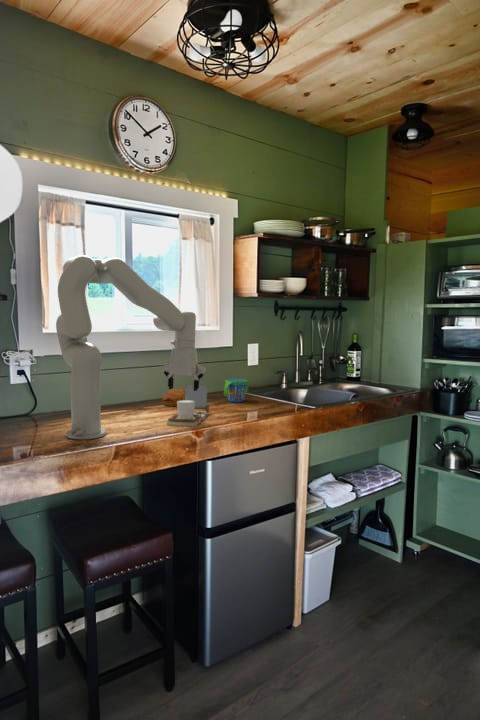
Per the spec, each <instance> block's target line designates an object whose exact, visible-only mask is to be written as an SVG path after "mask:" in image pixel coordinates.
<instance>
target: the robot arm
mask: <svg viewBox="0 0 480 720" xmlns="http://www.w3.org/2000/svg"><path fill="white" fill-rule="evenodd" d="M88 284H99V285H101V284H112V286H114V287H115V288H116V290H118V291H119V292H120V293H121V294H122V295H123V296H124V297H125V298H127V300H128V301H130V302H131V303H132V304H134V305H135V306H137V307H140V308H141V309H142V308H143V309H144V310H147V311H149V312H150V313H151V314H153V325H154V327H156V328H157V329H159V330H160V331H166V332H175V333H174V340H171V342H170V344H171V345H173V346H174V347H172V349H171V353H170V359H169V361H170V362H169V363H166V364H164V365H162V366H161V369H162V372H163V374H164V375H165V376H166V377H167V387H168V390H173V389H174V376H175V375H178V376H181V375H182V376H192V377H193V378H194V380H193V386H194V391H197V389H198V388H199V386H200V380H201V379H202V378H203V377H204V376H205V374H206V372H207V368H206V367H204V366H202V365H200V364H199V361H198V359H199V358H198V351H197V348H196V321H197V316H196V314H195V313H194V312H193V311H181V310H180V309H179V308H178V307H177V306H176V305H175V304H174V303H173V302H172V301H171V299H170V300H169V298H167V297H166V296H164V295H163V294H162V293H161V292H158V291H157V290H156V289H154V288H153V287H151V286H150V285H149V284H148V283H147V282H146V281H145V280H144V279H143V278H142V277H140V275H139V274H138V273H137V272H136V271H134V269H133V268H132V267H131V266H130V265H129V264H128V263H127V262H125V260H124V259H122V258H119V257H110V258H105V259H96V258H95V259H93V258H92V257H91V256H88V255H84V254H83V255H77V256H74V257H70V258H68V259H67V260H66V261H65V262H64V264H63V265H62V272H61V275H60V277H59V280H58V284H57V285H58V286H57V297H58V303H59V304H58V305H59V309H60V314H59V315H58V316H57V319H56V322H55V324H56V325H55V328H56V329H55V330H56V335H57V339H58V343H59V346H60V350H61V351H60V353H61V355H62V358H63V360H64V362H65V364H67V366H69V367H71V373H70V409H71V411H70V413H71V414H70V415H71V417H70V420H71V424H70V425H71V428H70V429H68V430H66V433H65V434H66V437H67V438H69V439H71V440H81V441H83V440H92V439H93V440H95V439H99V438H101V437H104V436H105V435H106V432H107V431H106V429H104V428H102V426H101V424H102V423H101V421H102V417H101V415H102V414H101V409H102V407H101V372H102V361H103V358H102V353H101V352H100V349H99V348H98V347H97V346H96V345H95V344H93V343H90V342H89V341H88V338H87V337H88V336H89V335H90V334H91V332H92V330H93V329H92V328H93V324H92V320H91V316H90V312H89V307H88V303H87V297H86V296H87V295H86V291H87V286H88ZM168 368H169V371H168ZM199 370H201V372H200V373H199V372H198V371H199ZM198 373H199V374H198Z"/></svg>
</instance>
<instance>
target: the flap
mask: <svg viewBox="0 0 480 720" xmlns="http://www.w3.org/2000/svg"><path fill="white" fill-rule="evenodd" d="M185 390H186V393H185V400H192V401H195V406H194V410H202V411H205V410H206V406H207V405H208V404H207V403H208V402H207V401H208V385H206V386H205V385H199V388H198V389H197V391H194V385H185Z"/></svg>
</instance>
